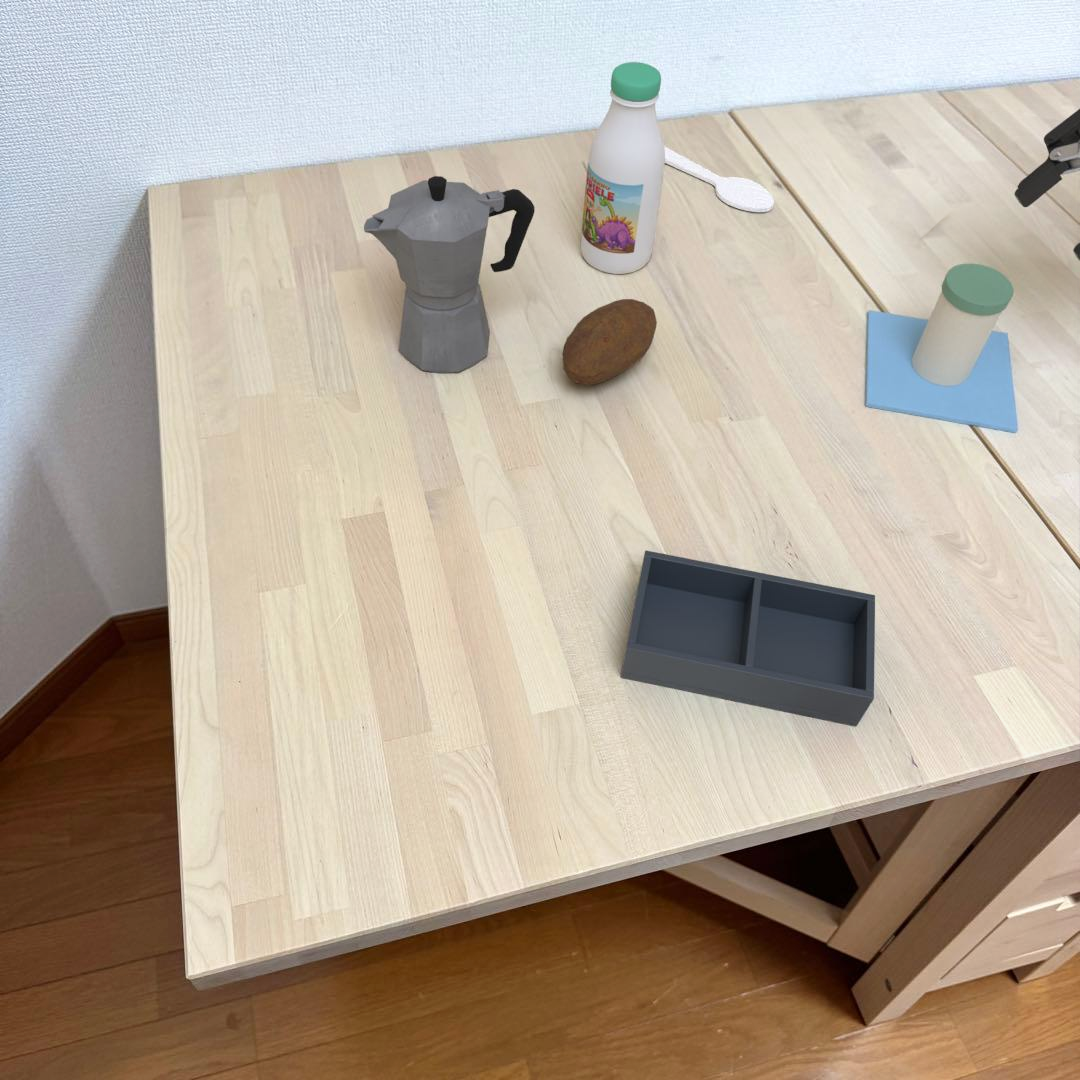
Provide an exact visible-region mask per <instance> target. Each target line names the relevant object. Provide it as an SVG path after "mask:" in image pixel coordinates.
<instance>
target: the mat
mask: <svg viewBox="0 0 1080 1080" xmlns="http://www.w3.org/2000/svg"><path fill="white" fill-rule="evenodd" d="M866 320H867V321H866V323H867V325H866V360H865V361H866V367H865V407H868V408H872V409H877V410H883V411H890V412H894V413H901V414H907V415H912V416H917V417H923V418H928V419H934V420H935V419H936V420H941V421H945V422H946V421H947V422H951V423H957V424H964V425H967V426H968V425H969V426H975V427H978V428H979V427H980V428H985V429H991V430H996V431H1002V432H1009V433H1015V434H1016V433H1017V432H1018V430H1019V425H1018V417H1017V415H1018V414H1017V407H1016V399H1015V397H1016V396H1015V389H1014V379H1013V370H1012V363H1011V362H1012V361H1011V353H1010V344H1009V333H1007V332H1002V331H997V330H992V332H991V334H990V336H989V338H988V340H987V342H986V344H985V346H984V348H983V350H982V352H981V354H980V355H979V357H978V359H977V361H976V363H975V365H974V367H973V369H972V371H971V373H970V375H969V377H968V379H967V380H966V381H965V382H963V383H961V384H959V385H955V386H941V385H937V384H934V383H931V382H929V381H927V380H925V379H924V378H922V377H921V376H920V375H919V374H918V373H917V372H916V371H915V370H914V368H913V365H912V357H913V354H914V352H915V350H916V348H917V345H918V343H919V341H920V339H921V336H922V334H923V332H924V329H925V327H926V325H927V323H928V320H929V319H925V318H920V317H919V318H918V317H913V316H907V315H901V314H894V313H890V312H884V311H883V312H882V311H877V310H872V309H869V310H868V311H867V319H866Z"/></svg>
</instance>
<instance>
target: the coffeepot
mask: <svg viewBox="0 0 1080 1080" xmlns="http://www.w3.org/2000/svg"><path fill="white" fill-rule="evenodd" d="M511 211H514V212H515V214H514V216H513V219H512V222H511V227H510V233H509V236H508V238H507V239H506V241H505V243H504V255H503V258H502V259H501V260H498V261H496V262H493V263H490V268H491V269H492V272H493V273H500V272H504V271H509V270H511V269H513V267H515V264H516V261H517V258H518V255H519V253H520V250H521V248H522V246H523V243H524V240H525V239H526V235H527V232H528V229H529V227H530V225H531V223H532V220H533V219H534V216H535V211H536V209H535V205H534V203H533V201H532V200H531V199H530V198H529V197H528V196H527V195H525V194H524V193H523V192H522V191H521V190H520V189H517V188H511V189H508V190H505V191H500V190H499V189H498V190H492V191H491V190H490V191H485V192H482V193H479V192H478V191H477V190H475V189H474V188H473V187H471V186H469V185H468V184H467V183H465V182H459V181H448V179H447V178H445V177H444V176H441V175H440V176H439V175H433V176H432V177H429V178H428V180H421V181H419V182H417V183H415V184H412V185H410V186H408V187H406V188H404V189H402V190H399V191H397V192H395V193H392V194H391V195H390V198H389V202H388V207H387V208H384V209H383V210H381V211H378V212H377V213H375V214H373V215H372V216H371V217H369V218H367V219H366V221H365V223H364V225H363V231H364V233H365V234H366V233H367V234H371V235H372V236H373V237H374V238H376V239H377V240H378V241H379V242H380V243H381V244H382V246H383V247H384V248H385V249H386V250H387V251H388V252H389V253H390V255H391V256H392V257H393V258H394V259H395V262H396V267H397V269H398V273H399V274H398V275H399V278H400V280H401V281H402V282H403V283H404V284H405V291H404V297H403V308H402V315H401V324H400V334H399V343H398V352H399V353H400V354H401V355H402V356H403V357H404V358H405V359H406V360H407V361H408V362H409V364H412V365H413V366H415V367H416V368H418V369H420V370H421V371H425V372H429V373H433V374H454V373H460V372H463V371H466V370H468V369H470V368H473V367H475V366H476V365H477V364H478V363H480V362H481V361H482V360H483V359H485V358H486V357H487V356H488V352H489V351H488V350H489V341H490V334H491V333H490V332H491V331H490V330H491V329H490V326H489V321H488V316H487V312H486V307H485V302H484V298H483V293H482V287H481V284H480V282H479V281H480V274H481V270H482V269H481V267H482V262H483V257H484V256H483V255H484V250H485V249H484V248H485V242H486V237H487V229H488V225H489V219H490V218H491V217H495V216H498V215H502V214H504V213H508V212H511Z"/></svg>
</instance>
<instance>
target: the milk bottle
mask: <svg viewBox="0 0 1080 1080" xmlns="http://www.w3.org/2000/svg"><path fill="white" fill-rule="evenodd" d="M661 84H662V75H661V73H660V71H659V70H658V69H657V68H656V67H654V66H653V65H650V64H648V63H644V62H639V61H629V62H624V63H621V64H619V65H617V66H616V67H614V69H613V70H612V73H611V79H610V90H609V95H610V98H611V102H610V104H609V108H608V111H607V113H606V115H605V117H604V119H603V120H602V122H601V123H600V124H599V126H598V128H597V130H596V132H595V134H594V137H593V138H592V142H591V145H590V149H589V153H588V160H587V161H588V162H587V169H586V178H585V179H586V180H585V190H584V200H583V201H584V202H583V213H582V222H581V223H582V224H581V235H580V252H581V254H582V256H583V259H584V260H585V262H586V263H587V264H588V265H589V266H591V267H593V268H594V269H596V270H598V271H601V272H603V273H607V274H615V275H623V274H630V273H634V272H637V271H639V270H641V269H642V268H644V267H645V266H646V265H647V264H648V262H649V261H650V259H651V258H652V253H653V248H654V244H655V242H654V241H655V238H656V237H655V235H656V230H657V222H658V215H659V209H660V204H661V203H660V202H661V196H662V188H663V183H664V182H663V181H664V173H665V164H666V163H665V148H664V146H665V143H664V138H663V134H662V131H661V128H660V125H659V121H658V117H657V112H656V103H657V102H658V100H659V98H660V94H659V93H660V92H661V91H660V90H661Z"/></svg>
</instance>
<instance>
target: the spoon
mask: <svg viewBox="0 0 1080 1080" xmlns="http://www.w3.org/2000/svg"><path fill="white" fill-rule="evenodd" d="M664 148H665V164H667V165H669V166H672V168H675V169H678V170H680V171H682V172H684V173H686V174H688V175H691V176H693V177H695V178H696V179H699V180H702V181H703V182H706V183H708V184H710V185H712V186H713V187H714V191H715V194H716V196H717V197H718V199H720V200H721V201H722V202H724V203H725V204H726V205H728V206H731V207H733V208H736V209H739V210H741V211H746V212H751V213H767V212H770V211H772V209H773V208H774V205H775V199H774V196H773V195H772V193H771V192H770V191H769V189H766V187H764V186H763V185H761V184H760V183H757V182H755V181H753V180H752V179H750V178H749V179H748V178H746V177H740V176H738V177H737V176H730V177H724V176H721V175H718V174H716V173H714V172H712V171H711V170H710V169H709V168H708V169H707V168H705V167H703V166H702V165H700V164H698V163H695V162H694V161H693V160H690V159H689V158H687V157H685V156H684V155H681V154H680V153H678V152H676V151H675V150H672V149H670V148H669V147H667V146H666V145H664Z"/></svg>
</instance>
